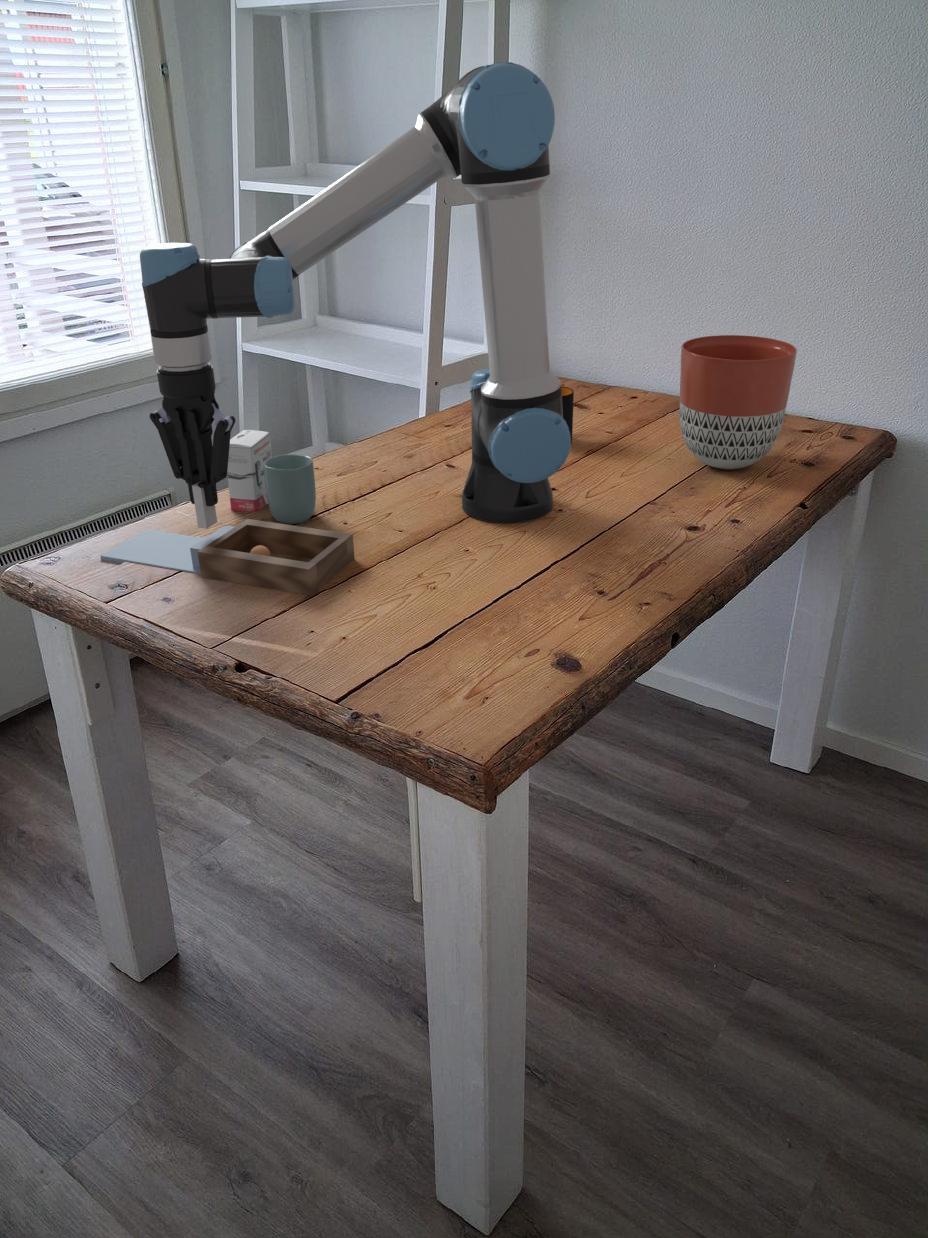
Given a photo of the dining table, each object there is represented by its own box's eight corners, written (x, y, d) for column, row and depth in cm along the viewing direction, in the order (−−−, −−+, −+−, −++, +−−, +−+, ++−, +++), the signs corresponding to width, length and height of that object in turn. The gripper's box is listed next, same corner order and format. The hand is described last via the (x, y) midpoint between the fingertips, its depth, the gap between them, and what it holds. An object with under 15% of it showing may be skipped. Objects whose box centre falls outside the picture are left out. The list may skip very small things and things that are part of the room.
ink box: (259, 514, 166) (250, 445, 161) (230, 513, 167) (221, 444, 162) (277, 496, 174) (270, 429, 168) (250, 494, 175) (242, 428, 169)
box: (354, 561, 149) (352, 533, 147) (311, 598, 138) (308, 569, 136) (250, 545, 155) (247, 518, 153) (201, 580, 144) (197, 551, 142)
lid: (243, 551, 154) (240, 524, 152) (201, 580, 145) (197, 552, 143) (147, 536, 160) (142, 510, 158) (101, 562, 151) (96, 535, 149)
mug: (585, 434, 202) (587, 383, 197) (561, 451, 192) (563, 398, 188) (548, 429, 205) (549, 379, 200) (522, 446, 196) (523, 393, 191)
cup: (326, 514, 166) (321, 456, 161) (304, 531, 159) (298, 471, 155) (284, 509, 168) (278, 451, 164) (261, 526, 162) (254, 467, 157)
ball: (275, 562, 148) (273, 543, 146) (264, 570, 145) (262, 551, 144) (258, 559, 149) (255, 541, 147) (247, 567, 146) (244, 548, 145)
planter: (661, 475, 180) (671, 355, 170) (683, 443, 195) (693, 331, 185) (773, 488, 173) (790, 364, 163) (786, 454, 189) (802, 338, 179)
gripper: (240, 361, 137) (259, 521, 148) (161, 354, 142) (185, 510, 153) (208, 374, 131) (231, 540, 142) (127, 367, 136) (155, 528, 147)
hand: (207, 524), depth 148 cm, fingers closed
